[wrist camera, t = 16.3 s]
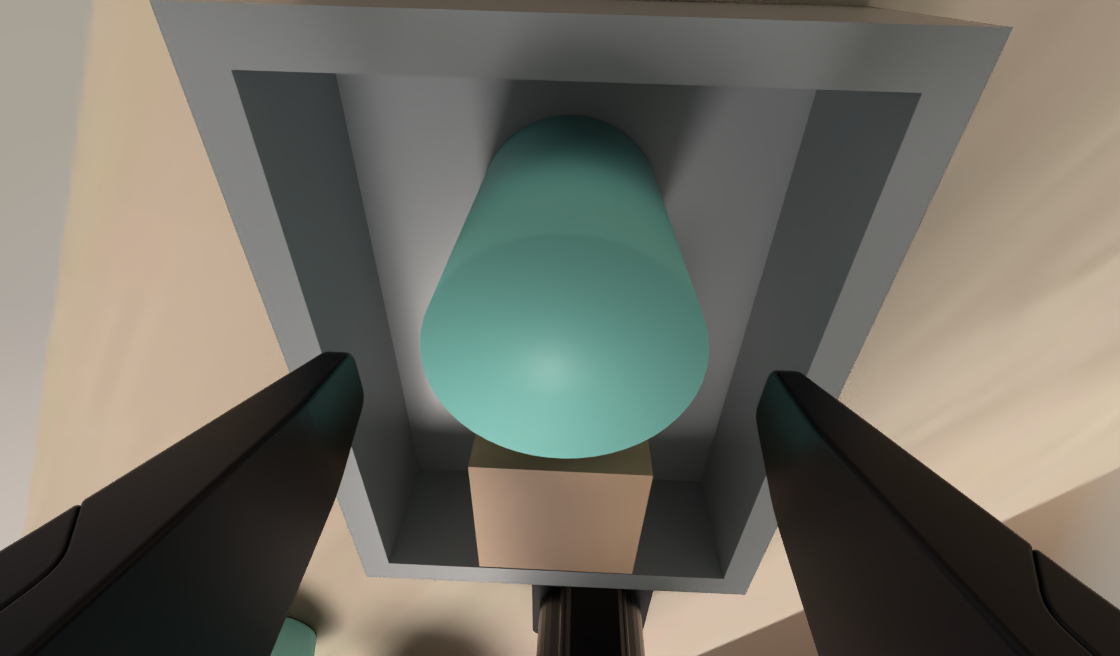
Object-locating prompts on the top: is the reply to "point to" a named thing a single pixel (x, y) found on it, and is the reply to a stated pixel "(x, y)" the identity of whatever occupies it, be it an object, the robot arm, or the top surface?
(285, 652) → the cupcake
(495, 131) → the grey rectangular tray
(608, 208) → the teal capsule
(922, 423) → the top surface
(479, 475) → the tan wooden cube
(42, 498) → the top surface
